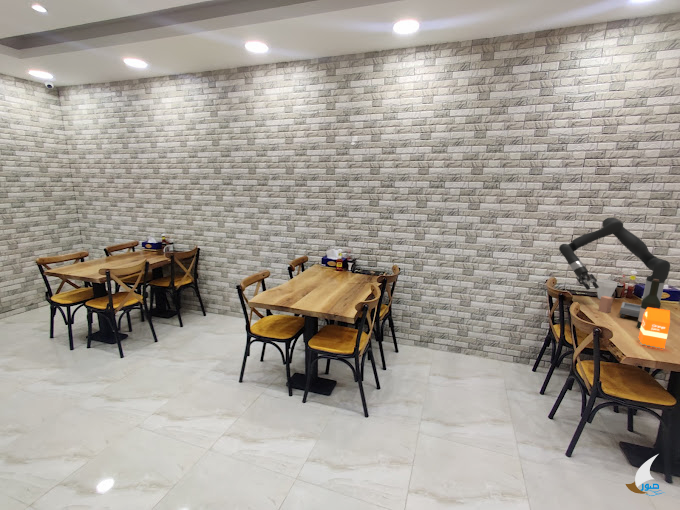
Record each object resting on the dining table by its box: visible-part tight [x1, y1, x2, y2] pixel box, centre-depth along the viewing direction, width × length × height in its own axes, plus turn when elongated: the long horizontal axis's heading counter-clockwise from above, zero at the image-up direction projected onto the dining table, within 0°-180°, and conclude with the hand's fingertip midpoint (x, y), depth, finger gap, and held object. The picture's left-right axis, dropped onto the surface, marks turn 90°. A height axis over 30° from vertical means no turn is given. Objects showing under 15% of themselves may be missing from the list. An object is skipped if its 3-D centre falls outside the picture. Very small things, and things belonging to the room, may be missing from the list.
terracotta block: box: [598, 296, 614, 314], centre depth 216 cm, size 5×5×10 cm
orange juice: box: [638, 307, 671, 349], centre depth 169 cm, size 8×9×20 cm
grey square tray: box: [619, 301, 641, 319], centre depth 206 cm, size 14×14×7 cm
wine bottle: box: [636, 279, 662, 329], centre depth 188 cm, size 8×8×30 cm
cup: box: [596, 278, 618, 300], centre depth 240 cm, size 12×12×14 cm
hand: (593, 288), depth 223 cm, fingers open, 8 cm apart
